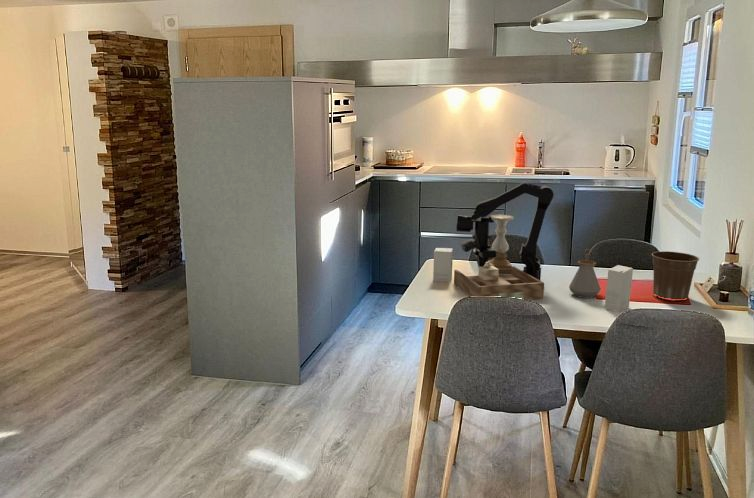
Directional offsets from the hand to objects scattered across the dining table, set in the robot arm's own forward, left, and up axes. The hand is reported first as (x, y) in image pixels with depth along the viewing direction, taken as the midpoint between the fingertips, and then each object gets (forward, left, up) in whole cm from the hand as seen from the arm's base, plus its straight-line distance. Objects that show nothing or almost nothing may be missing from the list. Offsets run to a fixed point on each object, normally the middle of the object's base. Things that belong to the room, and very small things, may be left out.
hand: (480, 269), depth 275 cm
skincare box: (-33, +47, -4) cm, 58 cm away
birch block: (0, +8, -1) cm, 9 cm away
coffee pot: (-33, +25, -4) cm, 42 cm away
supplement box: (+15, -4, -4) cm, 16 cm away
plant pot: (-61, +39, -4) cm, 73 cm away
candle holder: (-14, -13, -4) cm, 19 cm away
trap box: (0, +17, -4) cm, 18 cm away
